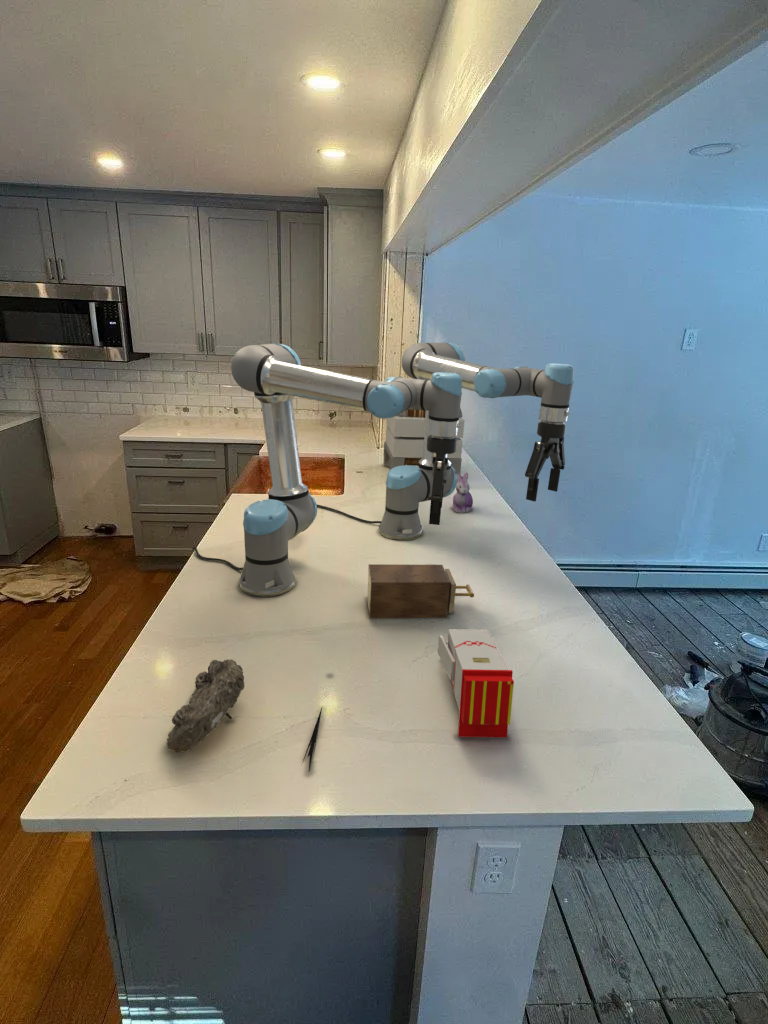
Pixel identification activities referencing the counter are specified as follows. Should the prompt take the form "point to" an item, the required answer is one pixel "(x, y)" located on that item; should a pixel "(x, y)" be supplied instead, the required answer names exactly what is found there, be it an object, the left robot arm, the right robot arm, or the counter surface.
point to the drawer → (453, 589)
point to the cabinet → (407, 591)
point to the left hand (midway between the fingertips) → (435, 515)
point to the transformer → (413, 440)
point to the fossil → (206, 705)
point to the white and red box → (478, 682)
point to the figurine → (462, 495)
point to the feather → (313, 740)
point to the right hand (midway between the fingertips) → (541, 495)
